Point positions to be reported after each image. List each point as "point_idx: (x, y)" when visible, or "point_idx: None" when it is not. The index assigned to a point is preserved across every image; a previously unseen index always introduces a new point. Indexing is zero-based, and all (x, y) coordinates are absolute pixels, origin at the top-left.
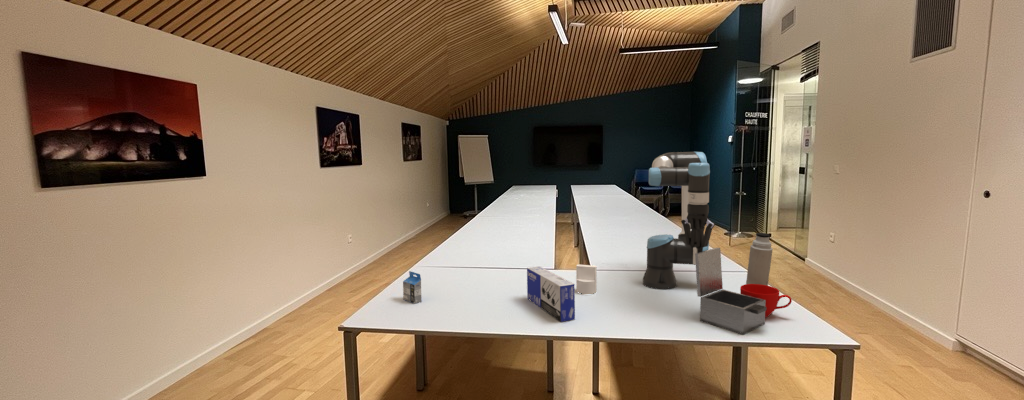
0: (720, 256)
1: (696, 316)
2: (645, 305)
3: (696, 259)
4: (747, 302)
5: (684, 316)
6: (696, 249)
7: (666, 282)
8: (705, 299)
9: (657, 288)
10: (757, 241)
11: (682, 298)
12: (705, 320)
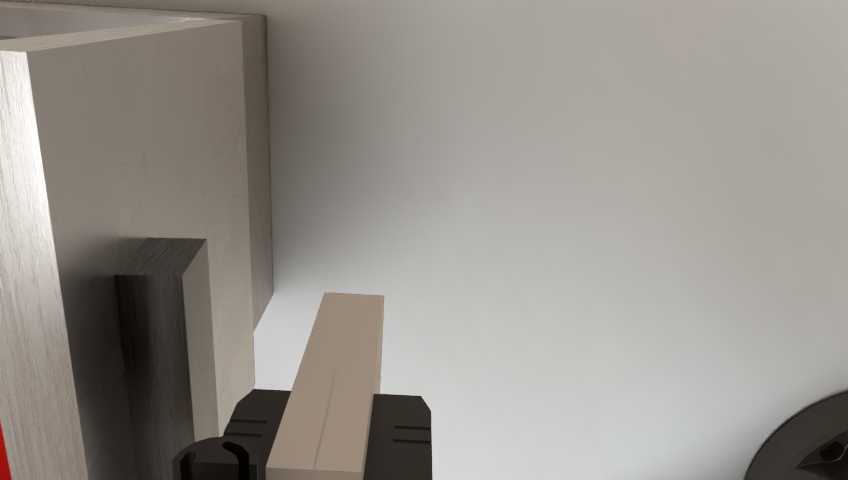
0: None
1: (334, 85)
2: (738, 4)
3: (67, 43)
4: None
5: (392, 16)
6: (280, 449)
7: (802, 471)
8: (157, 15)
9: (831, 398)
10: None
11: (595, 345)
12: (216, 13)
